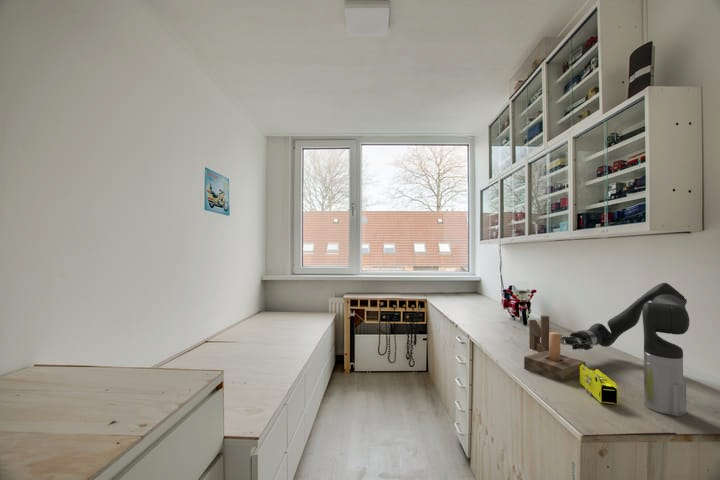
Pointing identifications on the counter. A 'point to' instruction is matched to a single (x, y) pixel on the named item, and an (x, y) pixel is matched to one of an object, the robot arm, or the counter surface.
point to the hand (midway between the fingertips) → (562, 344)
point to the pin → (554, 347)
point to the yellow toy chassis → (599, 385)
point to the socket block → (553, 366)
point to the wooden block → (539, 334)
